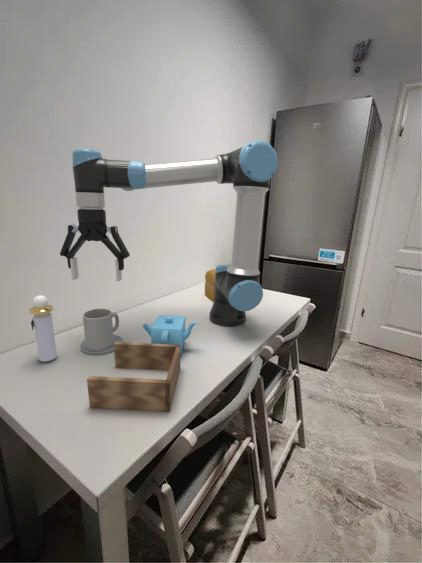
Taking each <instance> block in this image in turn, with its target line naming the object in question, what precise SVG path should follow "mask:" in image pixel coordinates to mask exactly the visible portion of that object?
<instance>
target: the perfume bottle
mask: <svg viewBox="0 0 422 563" xmlns="http://www.w3.org/2000/svg"><path fill="white" fill-rule="evenodd" d="M32 305H33V306H32V307H31V308H29V309H28V310H29V311H28V312H29V314H31V315H32V320H31V321H30V323H31V331H34V333H35V340H36V346H37V354H38V360H39V361H41V362H49V361H53V360H54V359H56V358H57V356H58V355H57V354H58V353H57V347H56V345H57V344H56V341H55V340H56V337H55V331H54V322H53V315H52V313H51V312H52V311H54V306H53V305H50V304H49V300H48V298H47V297H46V296H45V295H42V294H41V295H40V294H39V295H36V296H35V297H34V298H33V300H32Z"/></svg>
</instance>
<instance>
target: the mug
mask: <svg viewBox="0 0 422 563" xmlns="http://www.w3.org/2000/svg"><path fill="white" fill-rule="evenodd" d="M113 318H114V319H115V322H114V325H113ZM82 321H83V322H82V324H83V331H84V340H85V345H86V348H87V349H88V350H90V351H103V350H106V349H108V348H110V347H112V346H113V344H114V338H113V334H114V332H116V331H117V330H118V328H119V326H120V317H119V314H118V313H117V312H112V311H111V310H110V309H108V308H94V309H90V310H87V311H85V312H83V315H82Z"/></svg>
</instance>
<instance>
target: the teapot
mask: <svg viewBox="0 0 422 563" xmlns="http://www.w3.org/2000/svg"><path fill="white" fill-rule="evenodd" d="M198 324H200V321H192V322H190V323H189V324H188V327H187V329H186V316H185V315H174V314H173V315H171V314H169V315H166V314H158V315H157V317H156V318H155V320H154V322H153V324H152V325H150V324H149V323H143V324H142V325H141V326H142V328H143V329H144V331H145V332H147V334H148V335H149V337H150V342H151V343H150V344H171V345H180V356H181V355H182V353H183V348H184V344H185V341H186V340H188V338H189V337H190V336H191V334H192V330H193V328H194V326H196V325H198Z"/></svg>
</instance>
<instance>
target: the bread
mask: <svg viewBox="0 0 422 563" xmlns="http://www.w3.org/2000/svg"><path fill="white" fill-rule="evenodd" d="M215 271H216V268H214V269H209V270H208V271H206V272H205V274H204V279H205V282H204V294H205V295H204V296H205V297H206V298H207V299H208V300H210V301H211V302H212V303H214V295H215Z"/></svg>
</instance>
